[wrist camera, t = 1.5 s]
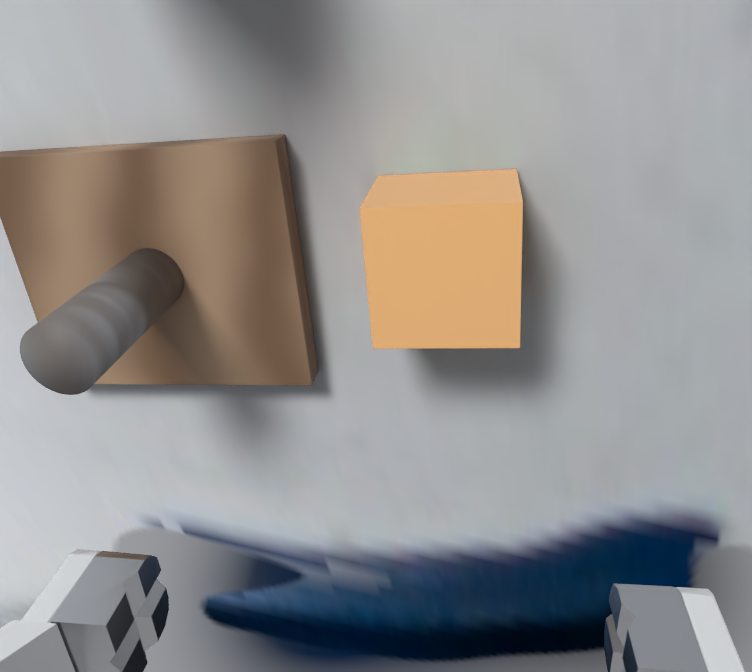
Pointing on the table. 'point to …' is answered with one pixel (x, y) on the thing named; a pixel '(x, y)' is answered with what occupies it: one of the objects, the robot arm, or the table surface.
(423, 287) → the peach wooden cube
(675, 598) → the robot arm
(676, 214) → the table surface
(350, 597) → the table surface
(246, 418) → the table surface
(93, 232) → the post board
